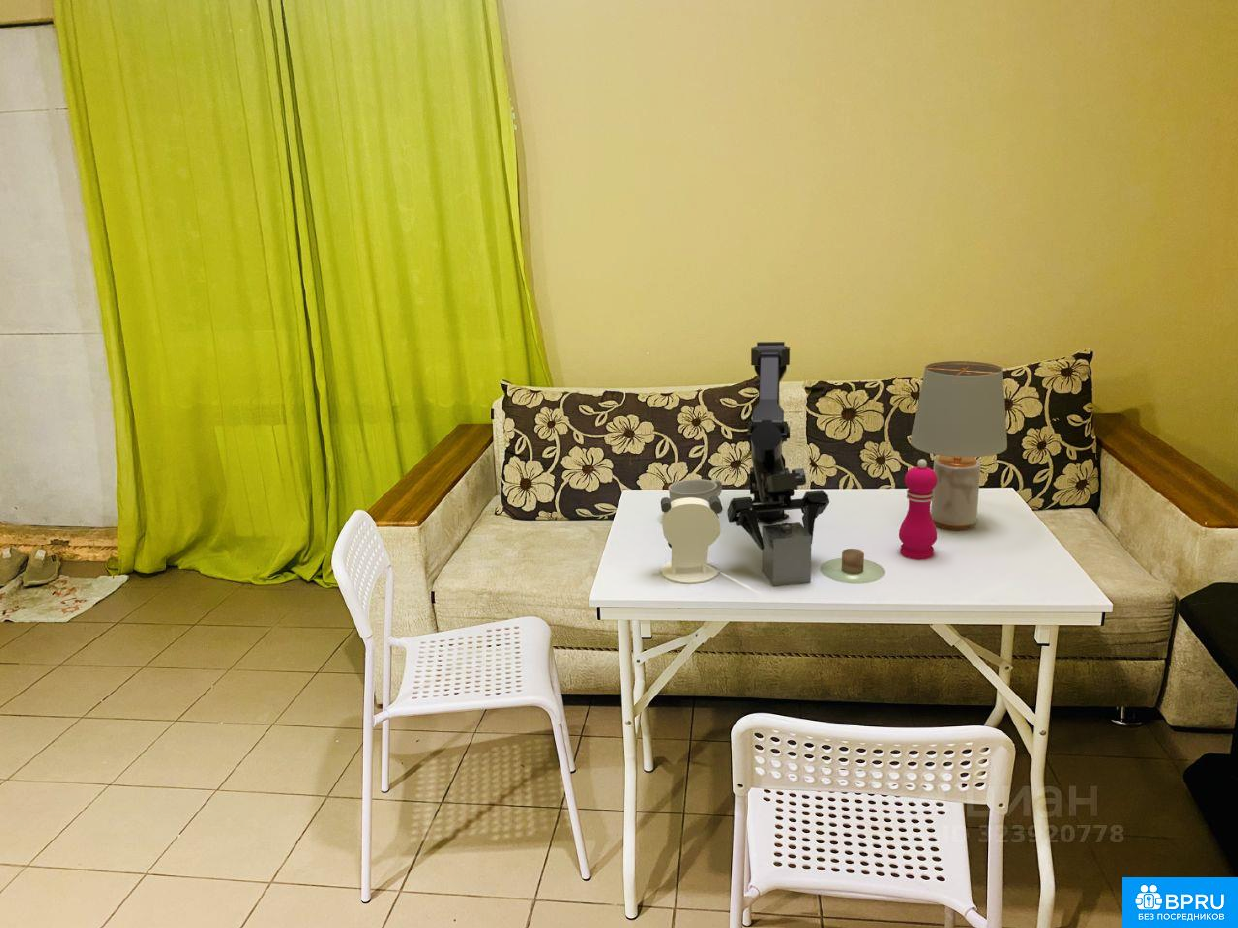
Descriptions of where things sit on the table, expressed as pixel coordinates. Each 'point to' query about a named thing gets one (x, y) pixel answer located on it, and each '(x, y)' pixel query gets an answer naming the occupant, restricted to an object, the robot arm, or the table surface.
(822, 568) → the plate
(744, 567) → the table surface
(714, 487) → the teacup
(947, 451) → the lamp
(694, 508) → the panda figurine
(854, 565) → the wooden cylinder
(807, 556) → the cover
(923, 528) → the pepper mill
